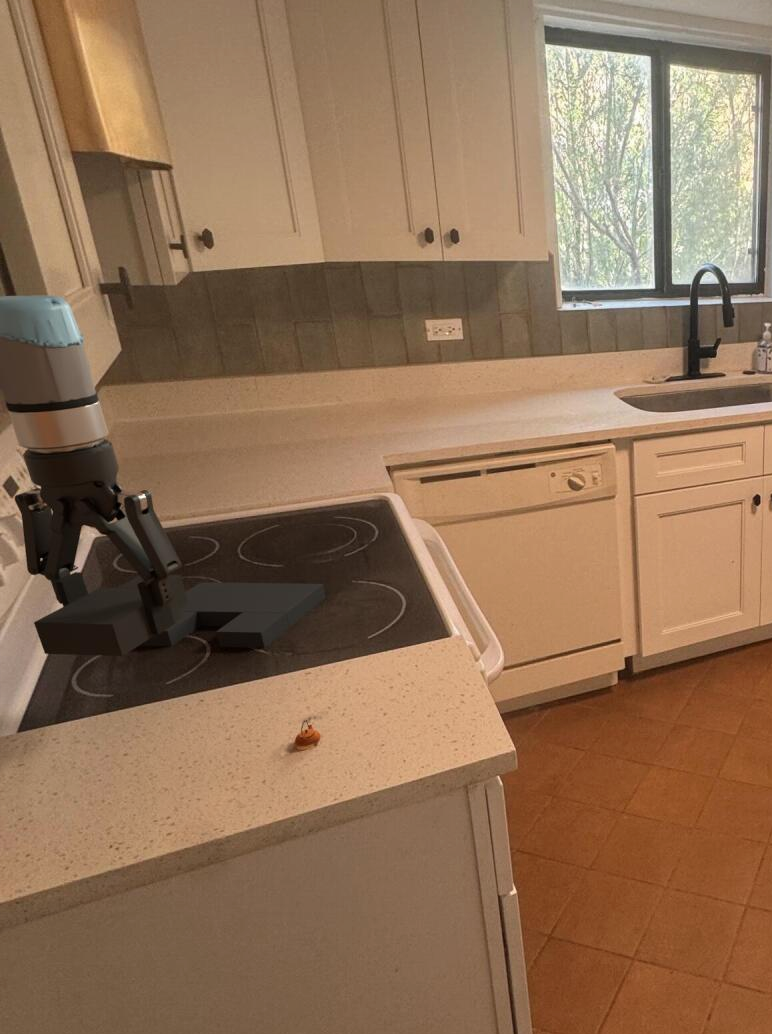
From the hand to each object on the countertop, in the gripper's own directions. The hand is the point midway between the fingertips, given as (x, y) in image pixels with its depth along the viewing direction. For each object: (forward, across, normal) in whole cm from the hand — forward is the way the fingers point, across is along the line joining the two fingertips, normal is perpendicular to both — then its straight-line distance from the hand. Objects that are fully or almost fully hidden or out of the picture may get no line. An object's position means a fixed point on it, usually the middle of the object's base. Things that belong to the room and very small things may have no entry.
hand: (124, 627), depth 93 cm
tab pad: (0, 0, -1) cm, 1 cm away
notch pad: (+13, +5, -23) cm, 27 cm away
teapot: (+13, -22, +4) cm, 26 cm away
